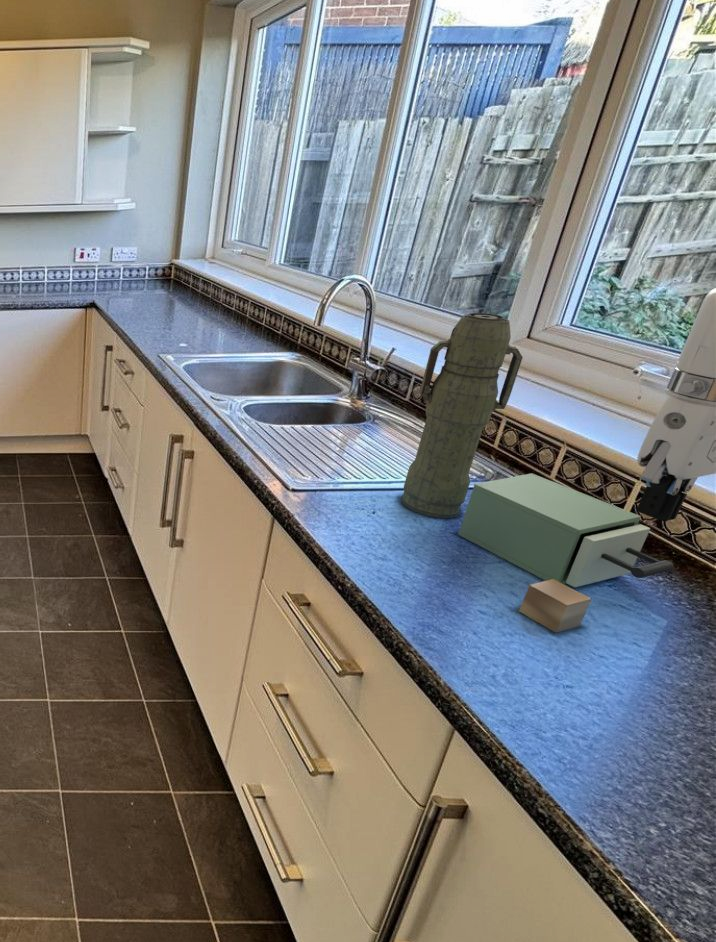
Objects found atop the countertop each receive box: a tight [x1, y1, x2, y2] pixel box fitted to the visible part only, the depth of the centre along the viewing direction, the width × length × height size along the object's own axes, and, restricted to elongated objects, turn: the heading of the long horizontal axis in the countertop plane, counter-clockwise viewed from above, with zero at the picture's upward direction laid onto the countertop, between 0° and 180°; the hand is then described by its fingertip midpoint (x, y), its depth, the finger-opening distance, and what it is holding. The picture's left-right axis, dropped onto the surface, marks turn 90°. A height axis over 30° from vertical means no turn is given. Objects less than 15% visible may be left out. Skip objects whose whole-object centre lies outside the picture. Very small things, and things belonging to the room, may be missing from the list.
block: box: [518, 579, 592, 633], centre depth 83 cm, size 4×4×4 cm
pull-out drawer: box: [565, 523, 675, 588], centre depth 92 cm, size 18×11×8 cm, turn 16°
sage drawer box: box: [457, 472, 642, 585], centre depth 96 cm, size 15×13×10 cm
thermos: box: [400, 312, 524, 519], centre depth 105 cm, size 9×12×35 cm
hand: (655, 515), depth 83 cm, fingers closed
